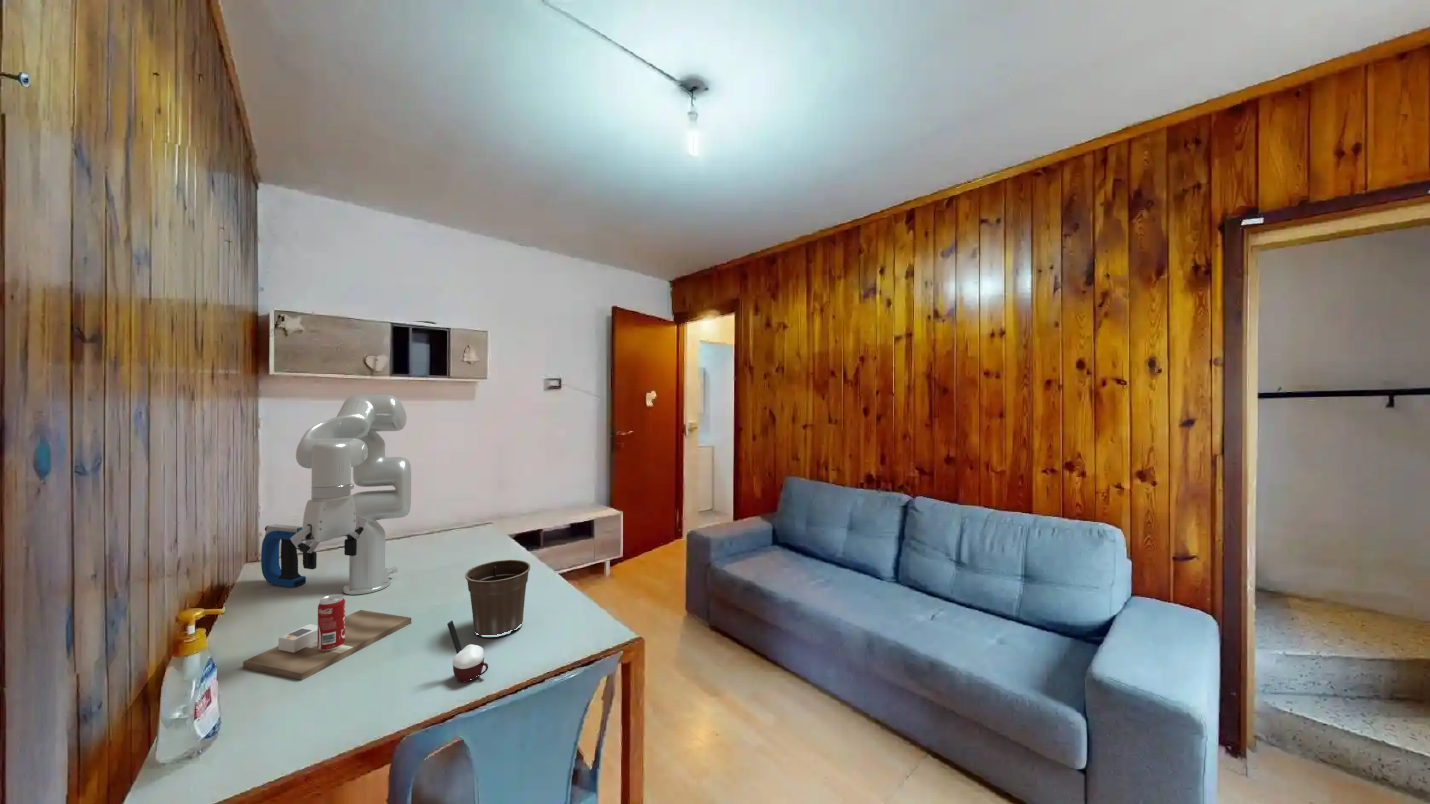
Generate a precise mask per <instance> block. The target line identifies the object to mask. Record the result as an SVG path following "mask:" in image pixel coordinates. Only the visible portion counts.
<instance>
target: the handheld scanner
mask: <svg viewBox="0 0 1430 804" xmlns="http://www.w3.org/2000/svg"><path fill="white" fill-rule="evenodd" d="M302 527H303V526H296V525H286V524H278V523H277V524H270V525H266V526H265V527H264V531H265V535H264V538H263V540H262V544H261V553H260V555H261V556H260V559H261V561H260V562H261V563H260V565H261V572H262V576H263V578H264V580H265V581H266V582H267V583H268V584H269V585H272V586H274V585H277V586H276V587H282V586H284V588H290V589H291V588H293V587H294V588H296V586H297V587H299V586H301V584H302V585H305V584H306V582H307V577H306V575H305V576H304V575H301V574H300V572H299V557H298V549H297V548H295V545H294V544H293V543H292V541H291V540H290V538H291V537H292V536H293V535H295V534H296V533H298V532H299V531H300V530H302ZM280 541H281V542H280ZM302 541H303V542H305V541H304V540H303V539H302ZM298 585H299V586H298ZM294 588H293V589H294Z"/></svg>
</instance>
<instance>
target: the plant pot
mask: <svg viewBox="0 0 1430 804" xmlns="http://www.w3.org/2000/svg"><path fill="white" fill-rule="evenodd" d="M530 570H531V564H530V563H529V562H527V561H525V560H520V559H504V560H494V561H489V562H484V563H482V564H479V565H476V566H474V567H472V568H469V569H468V570H467V571H466V572H465V574H464V577H465V580H466V581H467V589H468V592H469V595H470V603H471V612H472V620H473V621H472V622H473V632H474V631H475V632H476V633H478V634H479V635H497V634H502V633H504V632H508V631H510V630H514V629H516V628H517V627H518V626H519V625H520V624H522V622H523V623H524V611H525V610H524V609H525V601H526V589H527V583H528V581H529V572H530ZM522 625H523V624H522ZM514 631H515V630H514Z"/></svg>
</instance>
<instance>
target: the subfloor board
mask: <svg viewBox="0 0 1430 804" xmlns="http://www.w3.org/2000/svg"><path fill="white" fill-rule="evenodd" d="M408 624H409V625H410V624H412V617H409V616H403V615H395V614H390V613H383V612H376V611H371V610H363V609H360V610H357V611H354V612H353V613H350V614H348V615H345V643H344V644H343V646H341V647H340V648H338V649H336V650H332V651H328V652H321V651H319V650H318V642H316V643H314V644H312V645H310V646H307V647H305V648H303V649H301V650H299V651H297V652H294V653H293V652H288V651H283V650H278V646H275V647H273V648H271V649H268V650H266V651H264V652H263V651H262V652H261V653H259V654H257V655H254V656H253V657H250V658H248V659H246V660H243V661H242V664H243V665H242V668H243V669H248V670H252V671H256V670H257V671H256V672H262V673H266V674H270V675H276V676H281V677H285V678H289V679H294V680H300V681H303V680H305V679H308V677H310V676H312V675H315V674H316V673H318V672H321V671H322V670H324V669H326V668H328V667H330V666H332V665H334V664H336V663H338V662H339V660H340V661H341V660H343V659H345V658H347V657H349V656H350V655H353V654H355V653H358V652H359V651H361V650H363V649H364V648H366V647H368V646H370V645H372V644H374V643H376V642H378V641H380V640H381V639H383V638H385V637H388V636H390V635H391V634H393V633H395V632H397V631H399V630H400V629H403V628H404V627H406V625H407V626H409V625H408ZM387 635H388V636H387Z"/></svg>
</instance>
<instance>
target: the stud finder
mask: <svg viewBox="0 0 1430 804" xmlns="http://www.w3.org/2000/svg"><path fill="white" fill-rule="evenodd" d="M277 641H278V650H283V651H288V652H293V653H294V652H297V651H299V650H301V649H303V648H305V647H307V646H310V645H312V644H314V643H316V642H318V624H317V625H316V624H312V623H309V624H307V625H304V626H302V627H299V628H297V629H295V630H292V631H290V632H287V633H285V634H283V635H281V636H278V640H277Z"/></svg>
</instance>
